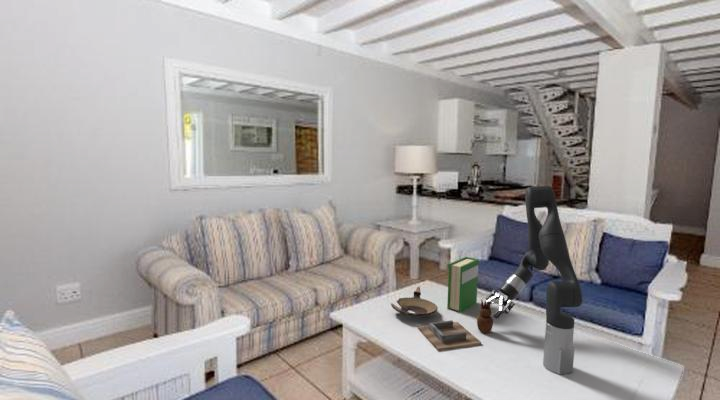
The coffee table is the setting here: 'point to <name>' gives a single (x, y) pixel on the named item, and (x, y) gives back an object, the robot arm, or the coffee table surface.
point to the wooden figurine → (485, 318)
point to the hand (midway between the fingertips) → (488, 313)
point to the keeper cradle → (448, 335)
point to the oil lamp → (415, 305)
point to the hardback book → (462, 284)
